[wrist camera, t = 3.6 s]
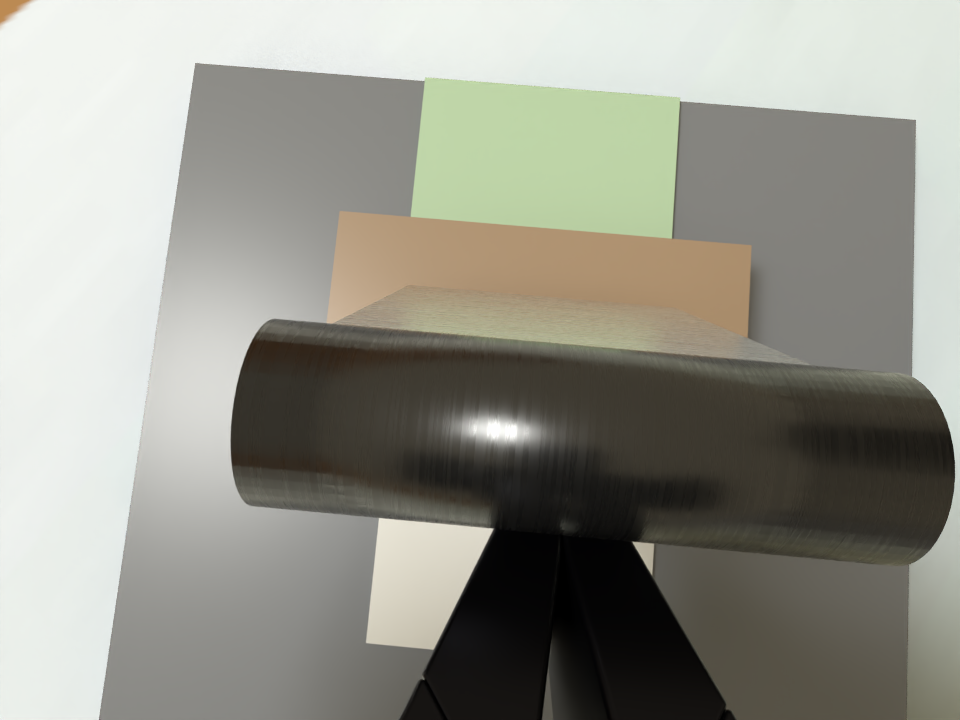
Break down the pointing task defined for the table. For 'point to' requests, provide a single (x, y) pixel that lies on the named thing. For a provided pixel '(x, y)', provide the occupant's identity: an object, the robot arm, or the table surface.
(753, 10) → the table surface
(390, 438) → the bench scraper
